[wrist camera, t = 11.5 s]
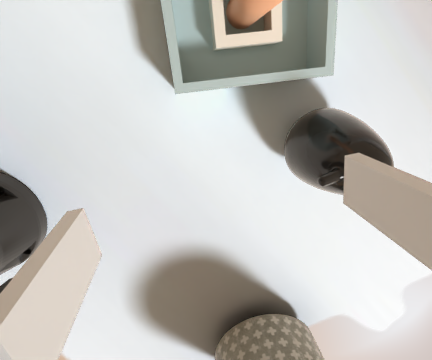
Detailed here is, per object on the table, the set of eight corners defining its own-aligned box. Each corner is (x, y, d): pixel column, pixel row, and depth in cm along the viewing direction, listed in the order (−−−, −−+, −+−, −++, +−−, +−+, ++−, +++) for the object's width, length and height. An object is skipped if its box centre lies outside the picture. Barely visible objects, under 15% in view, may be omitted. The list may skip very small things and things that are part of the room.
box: (176, 91, 34) (175, 94, 29) (152, -65, 28) (145, -99, 23) (310, 75, 36) (333, 75, 30) (314, -78, 30) (344, -113, 24)
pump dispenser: (271, 111, 37) (325, 133, 23) (343, 99, 37) (439, 113, 23) (276, 178, 41) (324, 232, 26) (341, 166, 41) (422, 213, 27)
